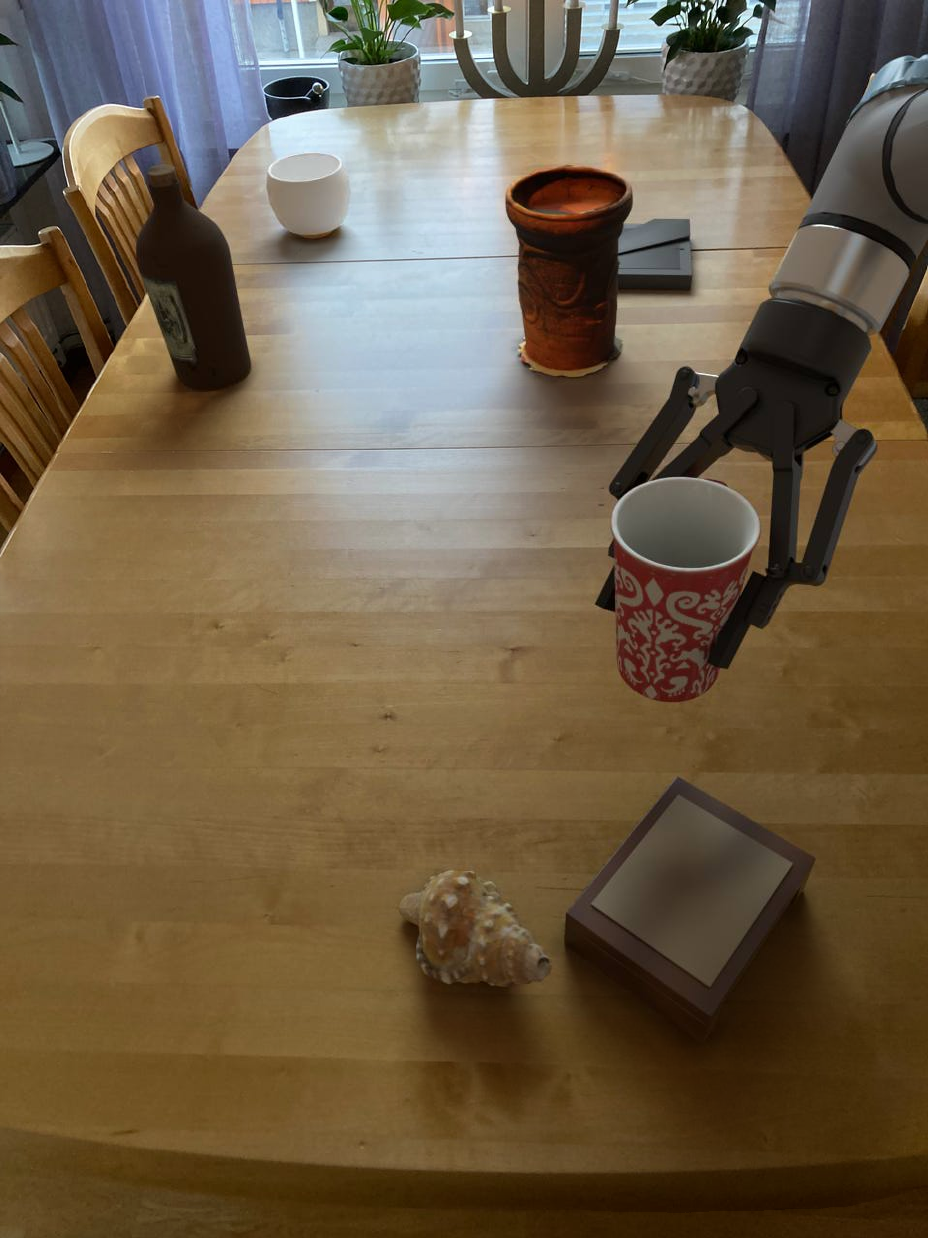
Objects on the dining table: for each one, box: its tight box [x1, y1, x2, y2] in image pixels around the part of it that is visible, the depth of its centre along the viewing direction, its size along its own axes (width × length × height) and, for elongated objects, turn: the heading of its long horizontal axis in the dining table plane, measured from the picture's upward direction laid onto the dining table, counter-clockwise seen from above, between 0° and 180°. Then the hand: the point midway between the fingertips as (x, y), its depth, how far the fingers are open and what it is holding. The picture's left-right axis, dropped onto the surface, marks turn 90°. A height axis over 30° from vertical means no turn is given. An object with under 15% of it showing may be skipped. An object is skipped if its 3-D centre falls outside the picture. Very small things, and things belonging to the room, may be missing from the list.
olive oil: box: [135, 163, 252, 392], centre depth 114 cm, size 11×11×25 cm
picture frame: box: [618, 218, 693, 291], centre depth 137 cm, size 16×3×21 cm
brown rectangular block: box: [563, 775, 816, 1045], centre depth 67 cm, size 11×14×5 cm
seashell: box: [398, 869, 553, 988], centre depth 66 cm, size 9×8×10 cm
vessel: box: [504, 164, 634, 378], centre depth 115 cm, size 14×14×20 cm
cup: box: [265, 151, 352, 240], centre depth 147 cm, size 12×12×10 cm
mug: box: [610, 477, 762, 703], centre depth 65 cm, size 13×9×14 cm
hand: (660, 636), depth 65 cm, fingers closed on mug, 8 cm apart
